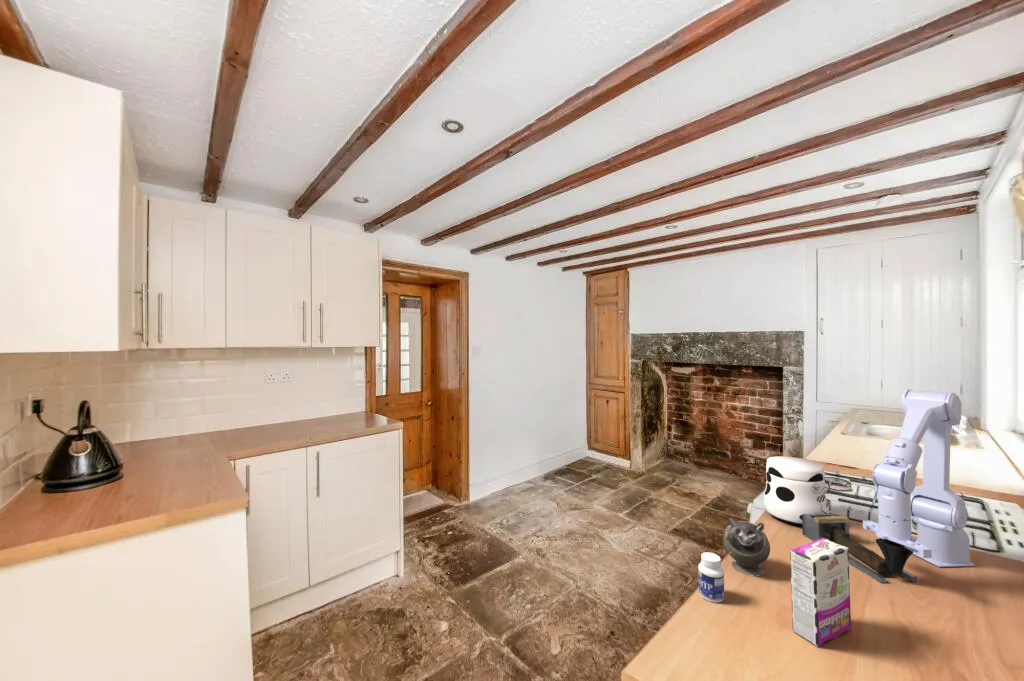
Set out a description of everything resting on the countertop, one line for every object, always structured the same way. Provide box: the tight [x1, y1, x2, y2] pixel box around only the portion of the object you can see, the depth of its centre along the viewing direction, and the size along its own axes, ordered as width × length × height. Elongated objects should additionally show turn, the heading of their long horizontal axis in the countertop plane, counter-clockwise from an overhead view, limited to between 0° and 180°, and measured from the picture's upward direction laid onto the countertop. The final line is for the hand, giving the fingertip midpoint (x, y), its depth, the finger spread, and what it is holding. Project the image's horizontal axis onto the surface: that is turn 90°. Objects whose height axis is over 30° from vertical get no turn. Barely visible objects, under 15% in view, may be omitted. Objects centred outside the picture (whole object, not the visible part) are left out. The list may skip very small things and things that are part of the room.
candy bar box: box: [789, 537, 852, 648], centre depth 79 cm, size 11×5×16 cm, turn 114°
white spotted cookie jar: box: [762, 455, 830, 526], centre depth 129 cm, size 17×17×18 cm
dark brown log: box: [828, 526, 895, 578], centre depth 106 cm, size 19×4×5 cm, turn 174°
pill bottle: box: [697, 551, 725, 603], centre depth 91 cm, size 5×5×9 cm
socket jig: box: [801, 512, 918, 584], centre depth 107 cm, size 9×24×7 cm, turn 3°
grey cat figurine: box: [722, 516, 771, 577], centre depth 101 cm, size 10×12×10 cm
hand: (895, 572), depth 95 cm, fingers closed
